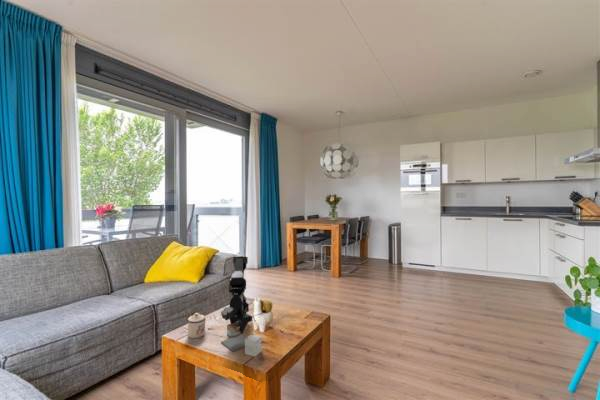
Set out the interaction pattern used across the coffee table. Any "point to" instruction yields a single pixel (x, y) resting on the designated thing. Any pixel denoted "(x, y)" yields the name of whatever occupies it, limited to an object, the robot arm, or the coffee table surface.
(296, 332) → the coffee table surface
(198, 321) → the teacup with lid
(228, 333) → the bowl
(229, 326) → the lid
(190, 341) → the coffee table surface
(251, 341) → the skincare box
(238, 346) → the mat
